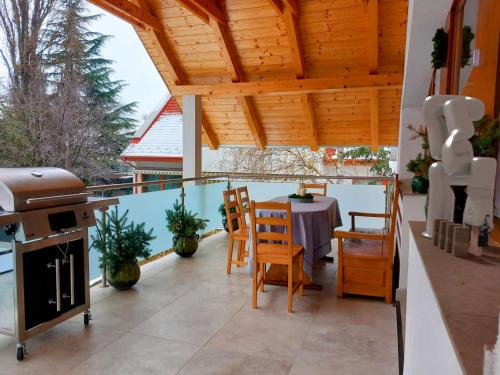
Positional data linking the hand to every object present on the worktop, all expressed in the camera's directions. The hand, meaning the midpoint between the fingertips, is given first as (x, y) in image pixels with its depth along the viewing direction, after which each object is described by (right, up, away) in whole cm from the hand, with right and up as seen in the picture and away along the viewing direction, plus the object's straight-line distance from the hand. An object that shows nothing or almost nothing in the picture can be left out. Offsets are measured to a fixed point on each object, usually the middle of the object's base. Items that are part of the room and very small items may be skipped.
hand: (476, 243), depth 132 cm
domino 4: (-7, -4, -3) cm, 9 cm away
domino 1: (-7, -2, +12) cm, 14 cm away
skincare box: (+9, -2, +19) cm, 21 cm away
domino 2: (-7, -3, +7) cm, 11 cm away
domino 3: (-7, -3, +2) cm, 8 cm away
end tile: (0, -4, 0) cm, 4 cm away
